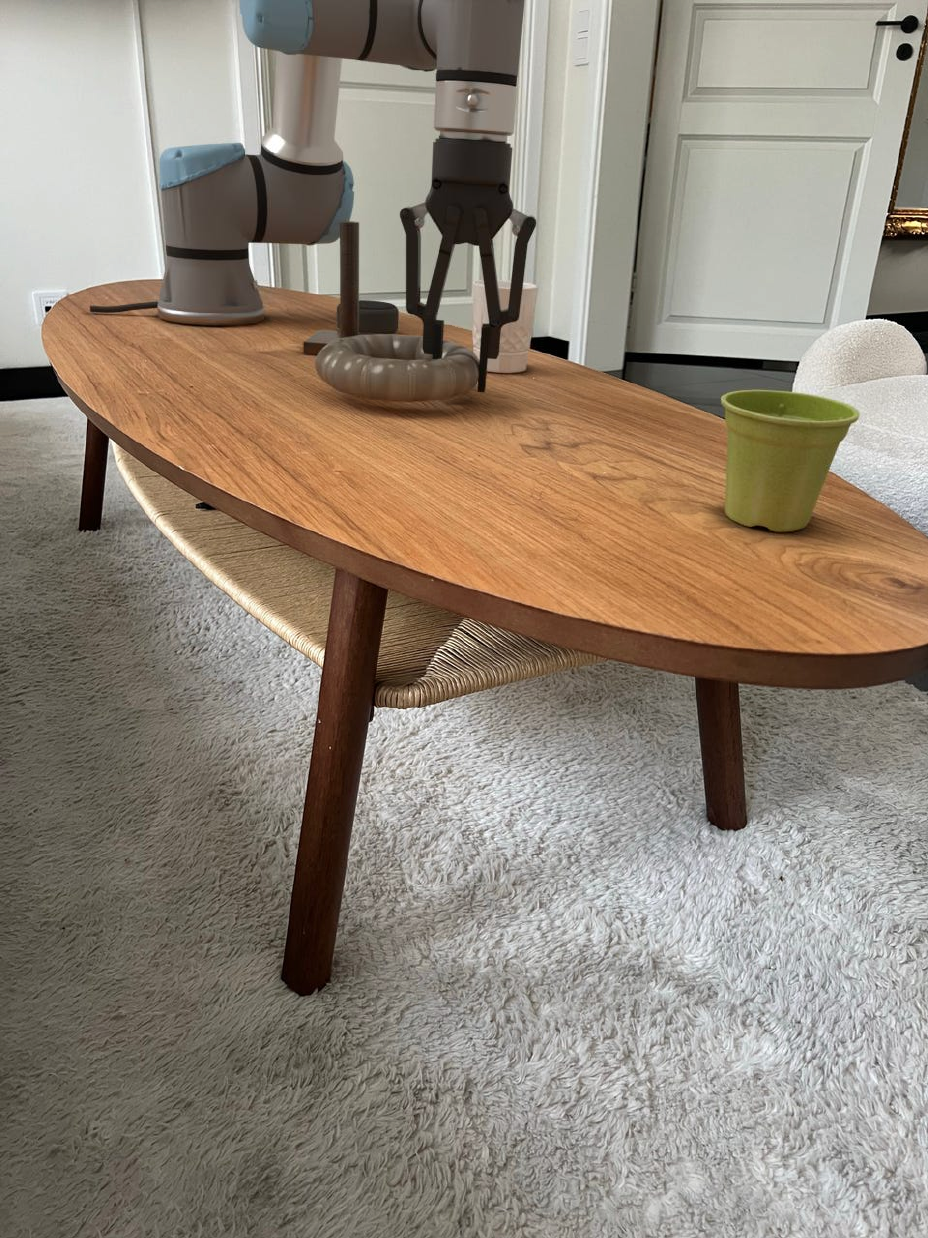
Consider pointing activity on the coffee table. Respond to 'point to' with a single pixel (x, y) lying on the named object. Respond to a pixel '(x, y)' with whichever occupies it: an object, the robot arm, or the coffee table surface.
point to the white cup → (506, 327)
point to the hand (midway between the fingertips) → (458, 387)
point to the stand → (343, 292)
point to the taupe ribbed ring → (396, 368)
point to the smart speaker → (375, 317)
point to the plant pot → (780, 454)
